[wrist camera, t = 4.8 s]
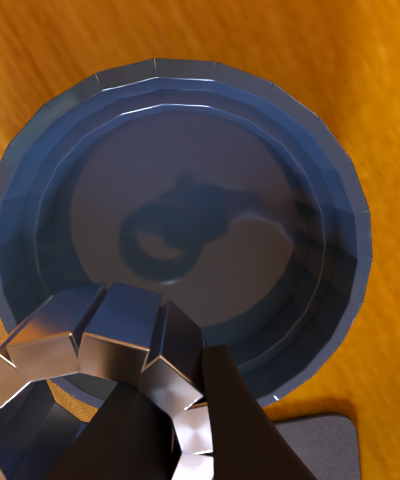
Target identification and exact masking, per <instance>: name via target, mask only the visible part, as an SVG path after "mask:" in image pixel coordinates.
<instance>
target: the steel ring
mask: <svg viewBox="0 0 400 480" xmlns="http://www.w3.org/2000/svg"><path fill="white" fill-rule="evenodd" d="M161 299H162V295H161V294H159V293H155V292H152V291H148V290H144V289H141V288H137V287H134V286H130V285H126V284H123V283H119V282H113V284H112V285H111V287H110V289H109V290H108V287H107V284H106V282H99V283H94V284H90V285H85V286H80V287H76V288H71V289H66V290H61V291H59V292H57V293H56V294H55V295H54V296H53V295H49V296H48V297H47V298H46V299H45V300H44V301H43V302H42V303H41V304H40V305H39V306H38V307H37V308H36V309H35V310H34V311H33V312H31V313H30V314H29V315H28V316H27V317H26V318H25V319H24V320H23V321H22V322H21V323H20V324H19V325H18V326H17V327H16V328H15V329H14V330H13V331H12V332H11V333H10V334H9V335H8V336H7V337H6V338H5V339H4V340H3V341H2V342H1V343H0V480H43V479H44V478H45V477H46V475H47V474H48V473H49V472H50V471H51V469H52V468H53V467H54V466H55V465H56V463H57V462H58V461H59V460H60V458H61V457H62V456H63V455H64V453H65V452H66V451H67V450H68V448H69V447H70V446H71V445H72V443H73V442H74V441H75V440H76V438H77V437H78V436H79V435H80V433H81V432H82V431H83V430H84V428H85V427H86V426H87V425H88V422H84V421H81V420H79V419H78V418H77V417H75V416H74V415H73V414H71V413H70V412H69V411H67V410H66V409H65V408H63V407H62V406H61V405H59V404H58V403H57V402H55V400H54V397H53V395H52V393H51V391H50V388H49V386H48V384H47V381H46V379H51V378H56V377H60V376H65V375H70V374H75V373H82V374H86V375H90V376H95V377H99V378H103V379H107V380H111V381H115V382H120V383H124V384H128V385H132V386H133V387H135V388H136V389H137V390H138V391H139V392H141V393H142V394H143V395H144V396H145V397H147V398H148V399H149V400H150V401H151V402H153V403H154V404H155V405H156V406H158V407H159V408H160V409H161V410H162V411H164V412H165V413H166V414H167V415H168V416H169V417H170V421H171V424H172V456H171V465H170V475H169V480H212V478H213V476H214V475H213V447H212V436H211V427H210V421H209V414H208V407H207V400H206V393H205V386H204V379H203V372H202V352H203V348H207V347H208V343H207V339H206V337H205V336H202V330H201V328H200V327H199V326H198V325H197V324H196V323H195V322H194V321H192V320H191V319H190V318H189V317H188V316H187V315H186V314H185V313H184V312H183V311H182V310H181V309H180V308H179V307H178V306H177V305H176V304H175V303H174V302H173V301H171V300H170V299H168V300H166V301H165V302H164V303H163V304H162V305H160V304H161Z"/></svg>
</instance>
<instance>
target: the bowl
mask: <svg viewBox="0 0 400 480" xmlns="http://www.w3.org/2000/svg"><path fill="white" fill-rule="evenodd" d="M372 258H373V255H372V238H371V221H370V210H369V207H368V204H367V201H366V198H365V196H364V193H363V190H362V187H361V184H360V182H359V179H358V176H357V173H356V170H355V168H354V165H353V163H352V160H351V158H350V157H349V156H348V154H347V153H346V152H345V150H344V149H343V147H342V146H341V145H340V143H339V142H338V141H337V139H336V138H335V137H334V135H333V134H332V133H331V131H330V130H329V128H328V127H327V126H326V124H325V123H324V122H323V120H322V119H321V118H320V117H319V116H318V115H317V114H315V113H314V112H313V111H311V110H310V109H309V108H307V107H306V106H305V105H303V104H302V103H301V102H299V101H298V100H297V99H295V98H294V97H293V96H291V95H290V94H289V93H287V92H286V91H285V90H283V89H282V88H281V87H279V86H278V85H277V84H275V83H272V81H269V80H267V79H264V78H261V77H258V76H256V75H253V74H250V73H247V72H245V71H242V70H239V69H236V68H234V67H231V66H228V65H225V64H223V63H220V62H215V61H203V60H185V59H168V58H156V59H155V58H152V59H148V60H144V61H140V62H135V63H131V64H127V65H123V66H119V67H115V68H111V69H107V70H103V71H99V72H97V73H94V74H92V75H91V76H89V77H87V78H86V79H84V80H82V81H81V82H79V83H77V84H76V85H74V86H72V87H71V88H69V89H67V90H66V91H64V92H62V93H61V94H59V95H57V96H56V97H54V98H53V99H51V100H49V101H48V102H46V104H43V105H42V107H41V108H40V109H39V110H38V111H37V112H36V113H35V115H34V116H33V117H32V118H31V119H30V120H29V121H28V123H27V124H26V125H25V126H24V127H23V128H22V129H21V130H20V132H19V133H18V134H17V135H16V136H15V137H14V138H13V140H12V141H11V142H10V143H9V144H8V146H7V148H6V150H5V152H4V154H3V157H2V159H1V161H0V318H1V320H2V322H3V324H4V327H5V329H6V331H7V333H8V334H10V333H11V332H12V331H13V330H14V329H15V328H16V327H17V326H18V325H19V324H20V323H21V322H22V321H23V320H24V319H25V318H26V317H27V316H28V315H29V314H30V313H31V312H33V311H34V310H35V309H36V308H37V307H38V306H39V305H40V304H41V303H42V302H43V301H44V300H45V299H46V298H47V297H48V296H49V295H53V296H54V295H55V294H56V293H57V292H59V291H61V290H66V289H71V288H76V287H80V286H85V285H90V284H94V283H99V282H106V284H107V287H108V290H109V289H110V287H111V285H112V284H113V282H119V283H123V284H126V285H130V286H134V287H137V288H141V289H144V290H148V291H152V292H155V293H159V294H161V295H162V299H161V304H160V305H162V304H163V303H164V302H165V301H166V300H168V299H170V300H171V301H173V302H174V303H175V304H176V305H177V306H178V307H179V308H180V309H181V310H182V311H183V312H184V313H185V314H186V315H187V316H188V317H189V318H190V319H191V320H192V321H194V322H195V323H196V324H197V325H198V326H199V327H200V328H201V330H202V336H205V337H206V339H207V343H208V347H212V346H217V345H222V344H225V345H227V346H228V347H229V348H230V352H231V355H232V358H233V360H234V362H235V364H236V366H237V368H238V370H239V372H240V374H241V376H242V378H243V379H244V381H245V383H246V385H247V386H248V388H249V389H250V391H251V392H252V394H253V396H254V397H255V399H256V400H257V402H258V403H259V405H260V406H261V408H262V407H265V406H267V405H270V404H272V403H274V402H277V400H280V399H281V398H283V397H284V396H286V395H287V394H289V393H290V392H291V391H293V390H294V389H296V388H297V387H298V386H300V385H301V384H303V383H304V382H305V381H307V380H308V379H310V378H311V377H312V375H314V374H315V373H316V372H317V371H318V370H319V369H320V368H321V367H322V365H323V364H324V363H325V362H326V361H327V360H328V359H329V357H330V356H331V355H332V354H333V353H334V352H335V351H336V350H337V348H338V347H339V346H340V345H341V343H342V342H343V340H344V338H345V336H346V334H347V333H348V331H349V329H350V327H351V325H352V323H353V321H354V319H355V317H356V315H357V313H358V311H359V309H360V307H361V306H362V304H361V303H363V300H364V295H365V290H366V286H367V281H368V277H369V272H370V268H371V263H372ZM49 380H51V381H52V382H53V383H55V384H56V385H57V386H59V387H60V388H61V389H63V390H64V391H65V392H67V393H68V394H69V395H71V396H72V397H73V398H75V399H78V400H80V401H82V402H84V403H86V404H88V405H91V406H93V407H95V408H97V409H99V408H100V407H101V406H102V404H103V403H104V402H105V400H106V399H107V398H108V396H109V395H110V393H111V392H112V391H113V389H114V388H115V386H116V385H117V384H118V382H115V381H111V380H107V379H103V378H99V377H95V376H90V375H86V374H82V373H75V374H70V375H65V376H60V377H56V378H51V379H49Z"/></svg>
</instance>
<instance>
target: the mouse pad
mask: <svg viewBox="0 0 400 480" xmlns="http://www.w3.org/2000/svg"><path fill="white" fill-rule="evenodd" d="M273 425H274V426H275V427H276V429H277V430H278V431H279V433H280V434H281V435H282V437H283V438H284V439H285V440H286V442H287V443H288V444H289V446H290V447H291V448H292V449H293V451H294V452H295V453H296V454H297V456H298V457H299V458H300V459H301V460H302V461H303V463H304V464H305V465H306V466H307V467H308V469H309V470H310V471H311V472H312V473H313V475H314V476H315V477H316V478H317V479H318V480H361V475H360V462H359V449H358V435H357V430H356V428H355V425H354V424H353V422H352V421H351V419H350V418H349V417H347V416H345V415H343V414H338V413H327V414H319V415H314V416H308V417H303V418H297V419H291V420H286V421H280V422H275V423H273ZM212 480H214V476H213V478H212Z"/></svg>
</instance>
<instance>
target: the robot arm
mask: <svg viewBox="0 0 400 480" xmlns="http://www.w3.org/2000/svg"><path fill="white" fill-rule="evenodd" d="M202 372H203V379H204V386H205V393H206V400H207V407H208V414H209V421H210V427H211V436H212V447H213V475H214V480H318V479H317V478H316V477H315V476H314V475H313V473H312V472H311V471H310V470H309V469H308V467H307V466H306V465H305V464H304V463H303V461H302V460H301V459H300V458H299V457H298V456H297V454H296V453H295V452H294V451H293V449H292V448H291V447H290V446H289V444H288V443H287V442H286V440H285V439H284V438H283V437H282V435H281V434H280V433H279V431H278V430H277V429H276V427H275V426H274V425H273V423H272V422H271V421H270V419H269V418H268V416H267V415H266V414H265V412H264V411H263V409H262V408H261V406H260V405H259V403H258V402H257V400H256V399H255V397H254V396H253V394H252V392H251V391H250V389H249V388H248V386H247V385H246V383H245V381H244V379H243V378H242V376H241V374H240V372H239V370H238V368H237V366H236V364H235V362H234V360H233V358H232V355H231V352H230V348H229V347H228V346H227V345H225V344H222V345H217V346H212V347H207V348H203V352H202ZM171 456H172V424H171V421H170V417H169V416H168V415H167V414H166V413H165V412H164V411H162V410H161V409H160V408H159V407H158V406H156V405H155V404H154V403H153V402H151V401H150V400H149V399H148V398H147V397H145V396H144V395H143V394H142V393H141V392H139V391H138V390H137V389H136V388H135V387H133V386H132V385H128V384H124V383H120V382H118V384H117V385H116V386H115V388H114V389H113V391H112V392H111V393H110V395H109V396H108V398H107V399H106V400H105V402H104V403H103V404H102V406H101V407H100V408H99V410H98V411H97V412H96V414H95V415H94V416H93V418H92V419H91V421H90V422H89V423H88V425H87V426H86V427H85V428H84V430H83V431H82V432H81V433H80V435H79V436H78V437H77V438H76V440H75V441H74V442H73V443H72V445H71V446H70V447H69V448H68V450H67V451H66V452H65V453H64V455H63V456H62V457H61V458H60V460H59V461H58V462H57V463H56V465H55V466H54V467H53V468H52V469H51V471H50V472H49V473H48V474H47V475H46V477H45V478H44V479H43V480H169V475H170V465H171Z"/></svg>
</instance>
